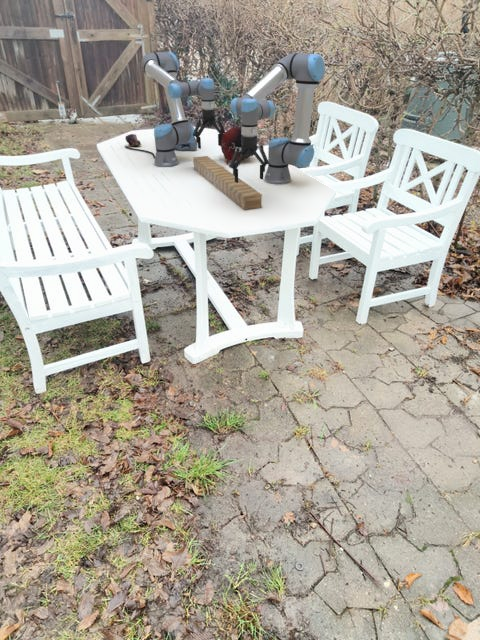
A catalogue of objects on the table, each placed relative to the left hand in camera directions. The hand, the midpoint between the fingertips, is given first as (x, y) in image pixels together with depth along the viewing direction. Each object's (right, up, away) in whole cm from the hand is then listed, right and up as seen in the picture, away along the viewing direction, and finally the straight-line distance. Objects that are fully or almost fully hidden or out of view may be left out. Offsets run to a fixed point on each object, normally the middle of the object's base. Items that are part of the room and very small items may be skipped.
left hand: (209, 147), depth 272 cm
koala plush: (-22, +20, +55) cm, 62 cm away
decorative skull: (+17, +3, +30) cm, 34 cm away
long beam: (+9, -28, -16) cm, 34 cm away
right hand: (+23, -35, -48) cm, 64 cm away
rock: (-61, +25, +62) cm, 91 cm away
